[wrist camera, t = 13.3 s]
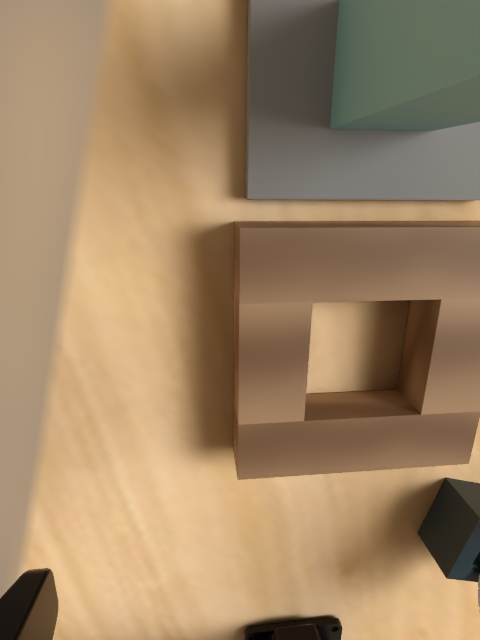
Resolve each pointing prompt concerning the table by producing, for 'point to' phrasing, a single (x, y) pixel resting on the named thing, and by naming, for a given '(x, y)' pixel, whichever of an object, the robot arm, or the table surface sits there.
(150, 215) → the table surface
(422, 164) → the pad
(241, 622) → the table surface
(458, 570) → the watch
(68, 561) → the table surface
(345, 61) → the peg
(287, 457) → the pocket
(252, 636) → the robot arm
